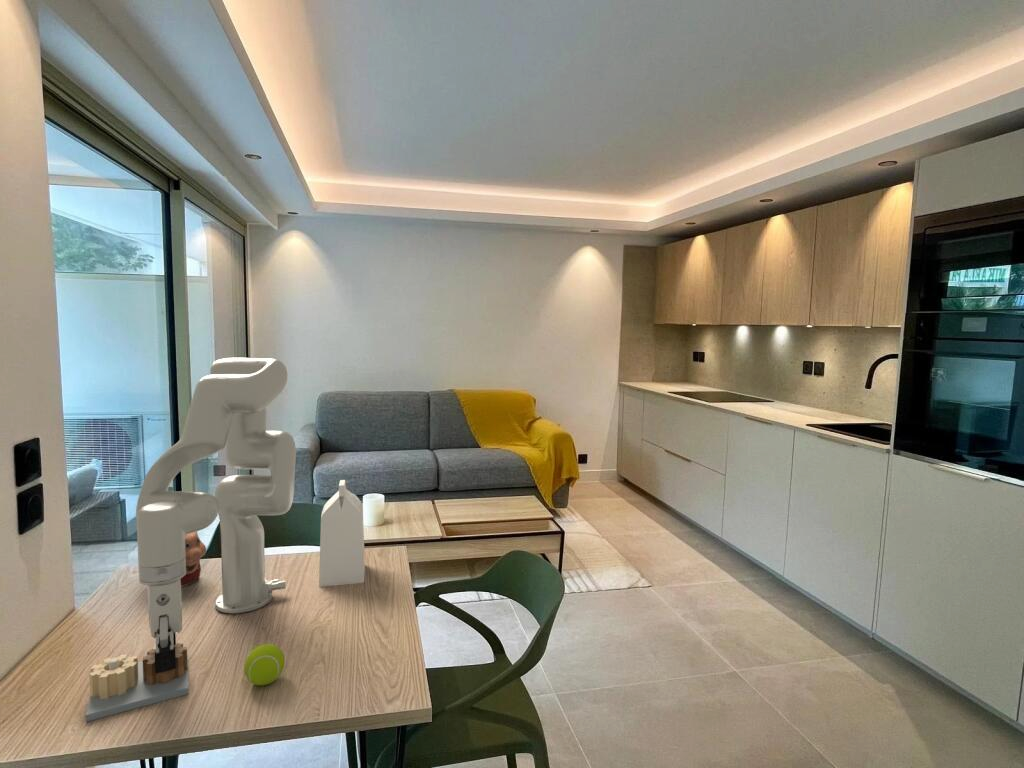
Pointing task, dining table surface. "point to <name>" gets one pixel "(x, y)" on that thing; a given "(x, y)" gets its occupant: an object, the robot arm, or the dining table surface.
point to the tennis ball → (264, 664)
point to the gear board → (137, 696)
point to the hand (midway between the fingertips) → (166, 658)
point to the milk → (342, 540)
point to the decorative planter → (193, 558)
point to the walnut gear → (167, 675)
